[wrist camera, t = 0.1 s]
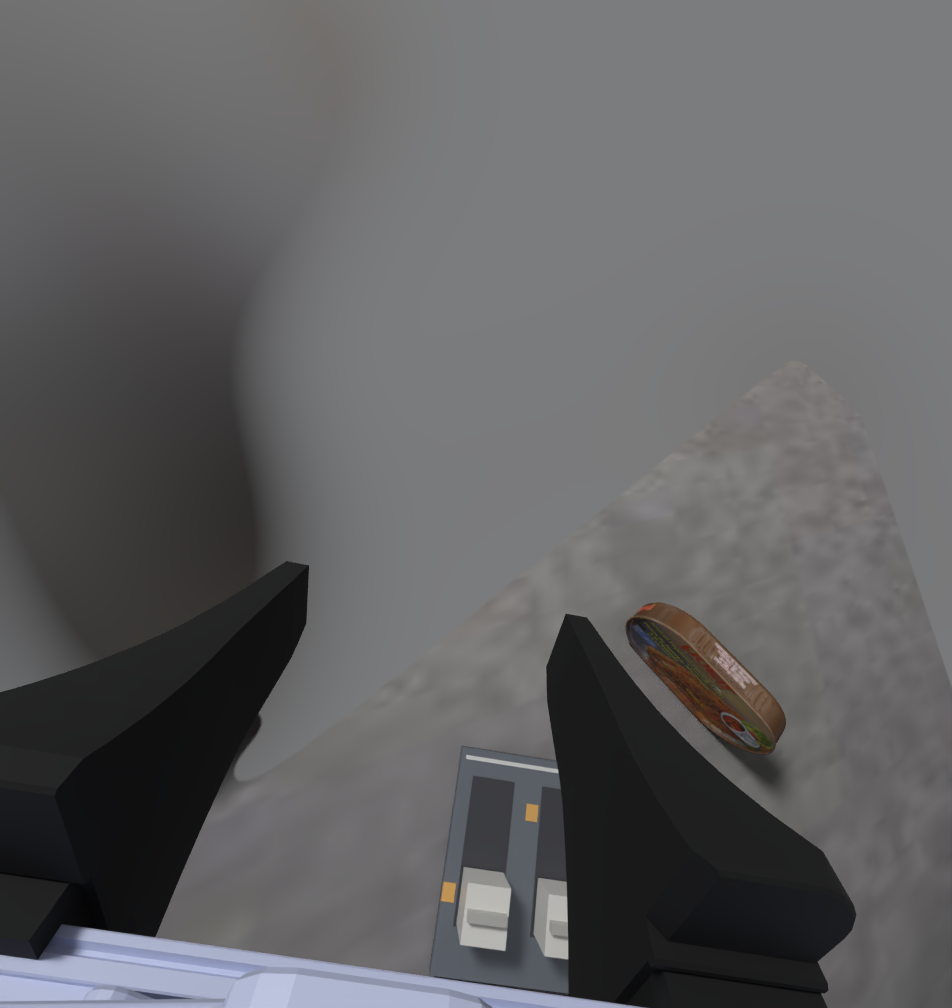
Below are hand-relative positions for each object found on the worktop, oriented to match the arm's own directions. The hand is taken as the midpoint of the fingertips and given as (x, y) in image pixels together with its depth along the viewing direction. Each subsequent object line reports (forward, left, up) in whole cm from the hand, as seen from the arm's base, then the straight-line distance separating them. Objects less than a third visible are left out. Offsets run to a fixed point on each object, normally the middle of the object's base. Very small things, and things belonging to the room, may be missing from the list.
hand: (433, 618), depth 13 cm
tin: (+3, -25, -32) cm, 41 cm away
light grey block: (-16, -8, -31) cm, 35 cm away
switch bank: (-13, -14, -32) cm, 37 cm away
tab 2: (-16, -14, -31) cm, 37 cm away
